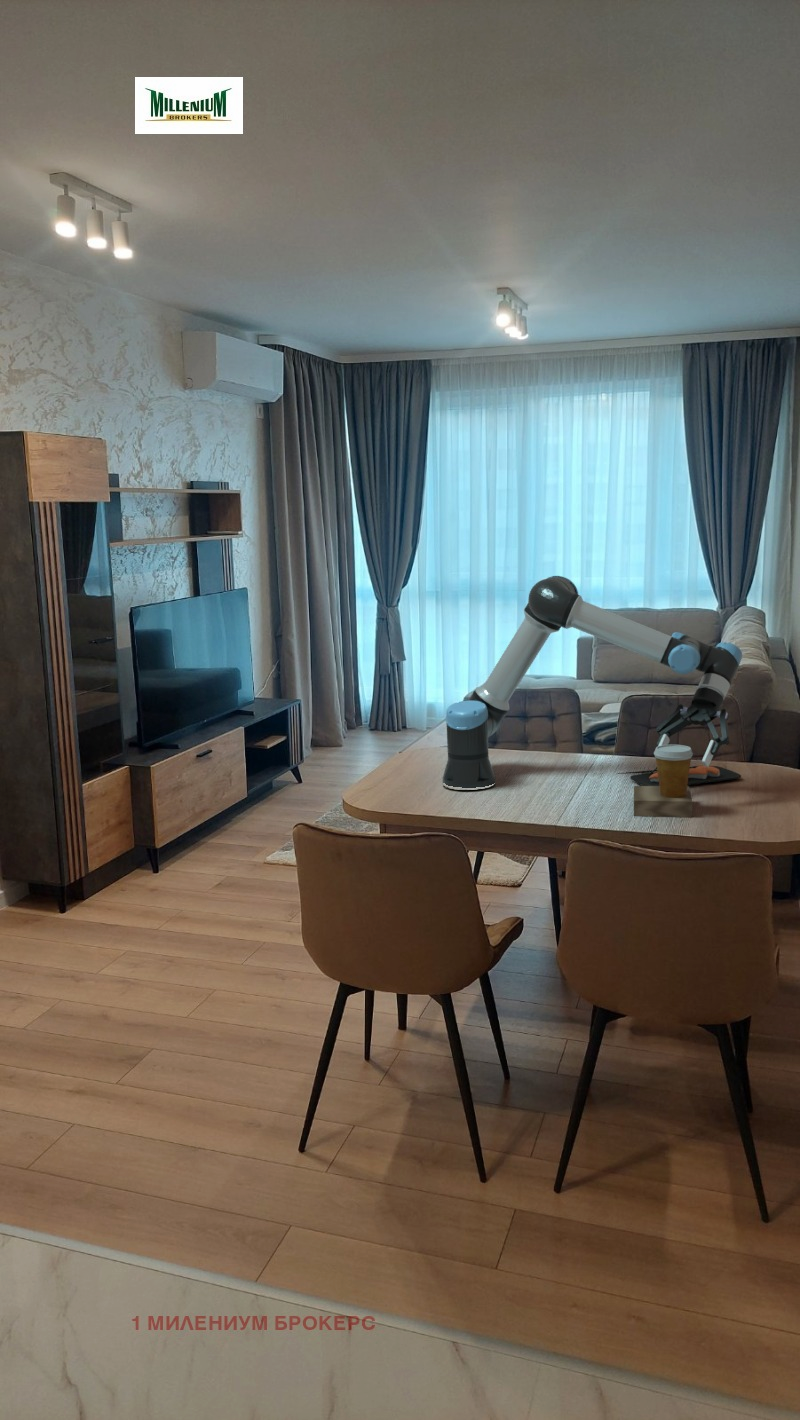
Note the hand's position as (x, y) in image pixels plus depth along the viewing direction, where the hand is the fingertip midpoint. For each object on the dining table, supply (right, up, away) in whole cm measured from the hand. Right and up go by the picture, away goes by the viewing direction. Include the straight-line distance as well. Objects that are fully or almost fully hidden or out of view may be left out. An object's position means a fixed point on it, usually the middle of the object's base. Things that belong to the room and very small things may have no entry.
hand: (680, 760), depth 256 cm
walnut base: (-6, -12, -4) cm, 14 cm away
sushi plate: (+5, -6, +29) cm, 30 cm away
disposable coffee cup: (-4, -8, -6) cm, 11 cm away
